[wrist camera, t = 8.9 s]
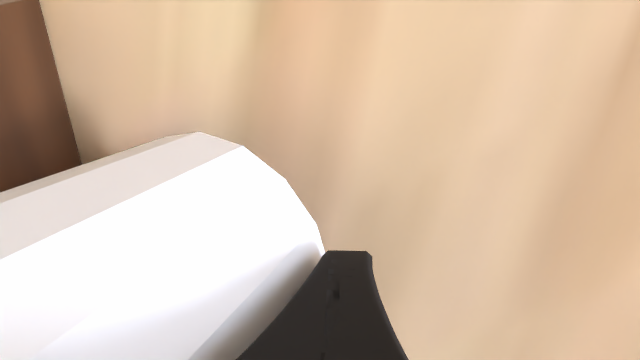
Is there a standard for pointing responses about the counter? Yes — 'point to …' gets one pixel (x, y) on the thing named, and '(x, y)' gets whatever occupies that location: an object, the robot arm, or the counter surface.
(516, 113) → the counter surface
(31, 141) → the corner guard
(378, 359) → the robot arm
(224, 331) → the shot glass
